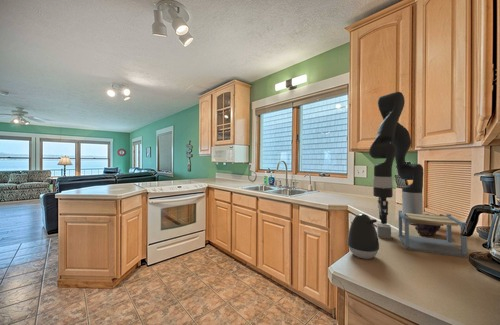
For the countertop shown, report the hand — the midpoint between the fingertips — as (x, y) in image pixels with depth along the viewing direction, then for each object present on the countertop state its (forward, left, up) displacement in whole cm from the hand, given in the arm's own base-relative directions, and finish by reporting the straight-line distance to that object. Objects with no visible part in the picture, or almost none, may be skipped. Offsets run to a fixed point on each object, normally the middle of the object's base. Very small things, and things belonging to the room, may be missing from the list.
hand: (382, 221), depth 99 cm
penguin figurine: (+28, -9, -7) cm, 30 cm away
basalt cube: (0, 0, -7) cm, 7 cm away
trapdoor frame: (+5, +15, -7) cm, 18 cm away
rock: (-13, +19, -7) cm, 24 cm away
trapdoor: (+5, +15, +1) cm, 16 cm away
